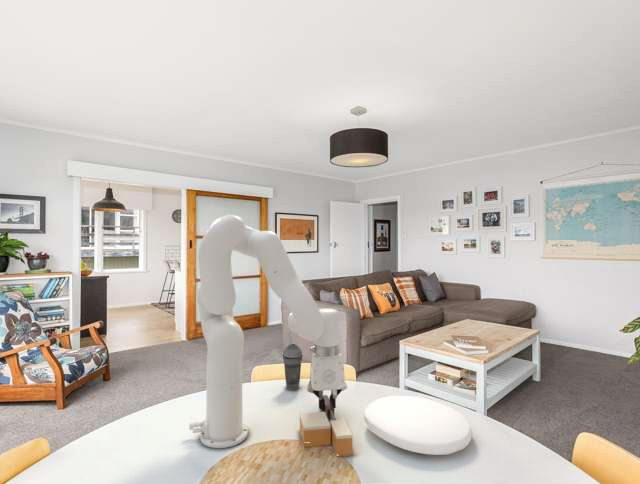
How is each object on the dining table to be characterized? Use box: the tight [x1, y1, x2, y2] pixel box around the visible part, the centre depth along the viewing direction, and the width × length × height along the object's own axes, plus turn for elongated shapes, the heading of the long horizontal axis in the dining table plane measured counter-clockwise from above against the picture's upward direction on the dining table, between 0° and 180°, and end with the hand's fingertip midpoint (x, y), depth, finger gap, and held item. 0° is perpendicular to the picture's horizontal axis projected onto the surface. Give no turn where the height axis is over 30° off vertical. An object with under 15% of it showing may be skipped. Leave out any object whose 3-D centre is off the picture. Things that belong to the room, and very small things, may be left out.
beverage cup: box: [282, 331, 304, 391], centre depth 133 cm, size 7×7×20 cm
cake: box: [299, 411, 332, 448], centre depth 99 cm, size 7×8×5 cm
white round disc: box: [363, 395, 473, 456], centre depth 101 cm, size 28×6×27 cm
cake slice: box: [329, 419, 354, 457], centre depth 94 cm, size 4×8×5 cm, turn 8°
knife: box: [323, 394, 337, 421], centre depth 108 cm, size 2×19×3 cm, turn 9°
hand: (327, 410), depth 112 cm, fingers closed on knife, 2 cm apart
